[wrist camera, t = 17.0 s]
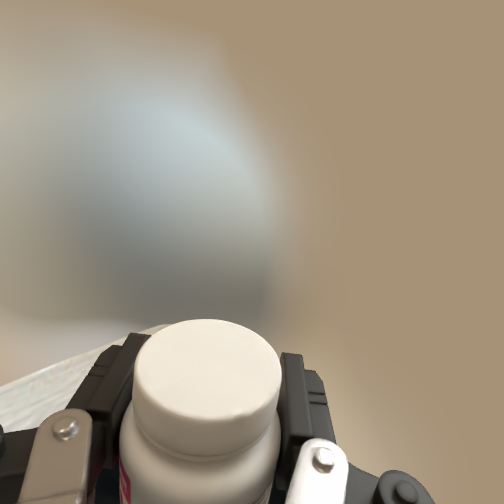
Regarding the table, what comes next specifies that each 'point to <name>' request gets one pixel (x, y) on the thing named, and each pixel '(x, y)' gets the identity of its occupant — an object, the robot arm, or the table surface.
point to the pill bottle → (201, 417)
